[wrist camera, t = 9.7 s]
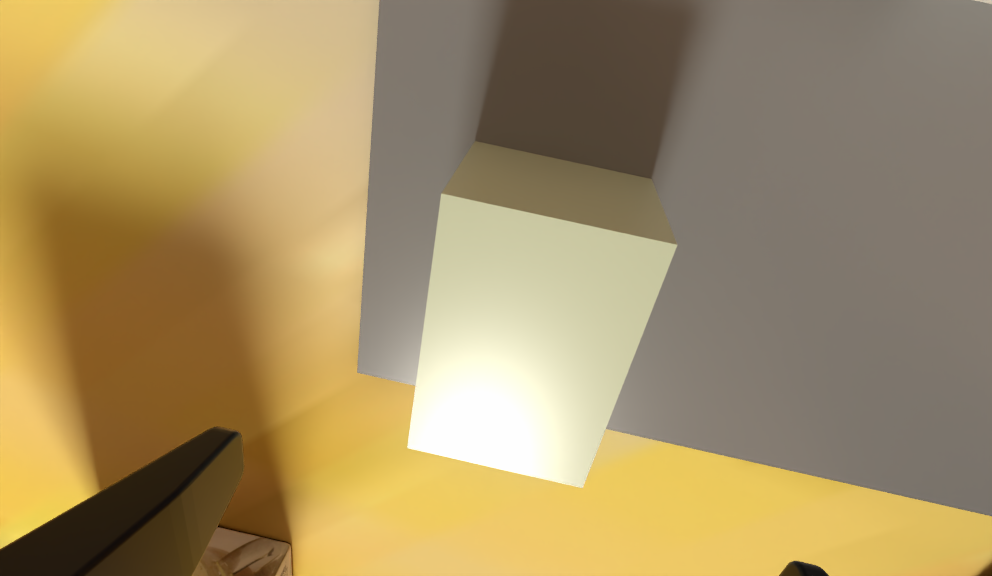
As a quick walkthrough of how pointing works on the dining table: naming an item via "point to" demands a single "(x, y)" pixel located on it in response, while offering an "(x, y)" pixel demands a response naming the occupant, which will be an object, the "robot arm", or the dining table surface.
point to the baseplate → (734, 211)
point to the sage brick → (534, 310)
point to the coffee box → (244, 556)
